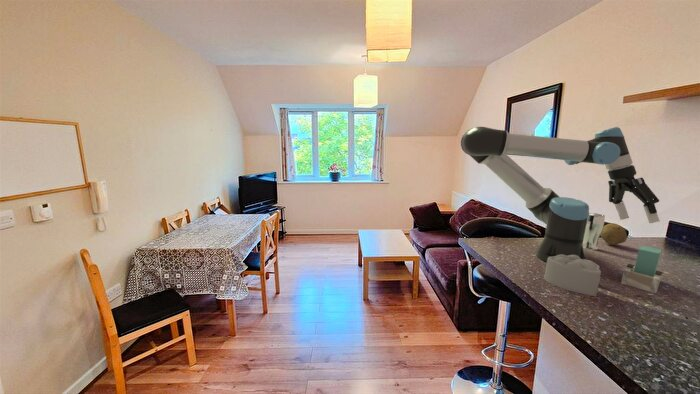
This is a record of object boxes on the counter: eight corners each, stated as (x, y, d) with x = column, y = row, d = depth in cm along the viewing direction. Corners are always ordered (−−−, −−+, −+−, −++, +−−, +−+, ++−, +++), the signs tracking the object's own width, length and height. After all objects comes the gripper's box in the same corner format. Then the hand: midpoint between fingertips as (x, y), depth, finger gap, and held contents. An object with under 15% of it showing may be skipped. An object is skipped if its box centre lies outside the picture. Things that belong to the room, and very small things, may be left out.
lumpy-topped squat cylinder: (597, 297, 81) (603, 269, 80) (543, 283, 89) (547, 257, 87) (594, 284, 90) (599, 258, 88) (545, 272, 97) (549, 248, 96)
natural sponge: (591, 241, 132) (595, 220, 130) (609, 241, 133) (613, 220, 131) (611, 248, 123) (615, 226, 122) (629, 248, 124) (634, 226, 122)
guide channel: (624, 273, 98) (627, 257, 97) (666, 284, 91) (671, 267, 90) (614, 286, 89) (617, 268, 88) (660, 300, 81) (665, 281, 80)
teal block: (635, 273, 95) (642, 245, 93) (654, 278, 92) (661, 249, 90) (632, 278, 91) (639, 249, 90) (651, 284, 88) (659, 253, 86)
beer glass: (597, 247, 124) (603, 214, 121) (600, 252, 118) (607, 217, 116) (577, 243, 128) (583, 211, 125) (579, 248, 122) (585, 214, 119)
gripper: (660, 160, 96) (682, 220, 95) (607, 167, 120) (624, 215, 119) (635, 167, 97) (656, 226, 96) (588, 172, 121) (604, 220, 121)
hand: (638, 220), depth 108 cm, fingers open, 13 cm apart
